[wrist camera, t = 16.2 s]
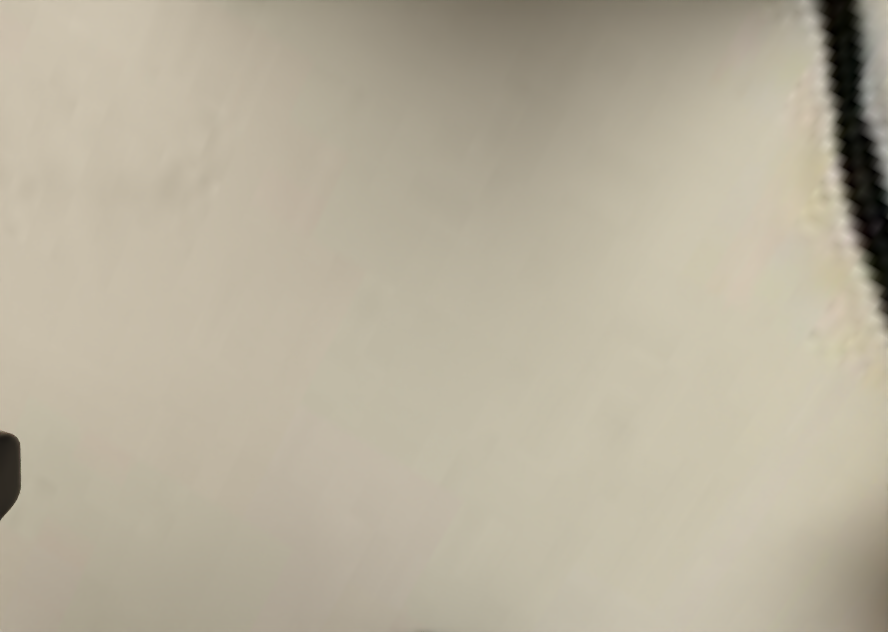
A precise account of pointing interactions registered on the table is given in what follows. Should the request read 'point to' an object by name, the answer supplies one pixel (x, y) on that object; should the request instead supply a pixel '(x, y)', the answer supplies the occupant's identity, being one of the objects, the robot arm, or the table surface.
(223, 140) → the table surface
